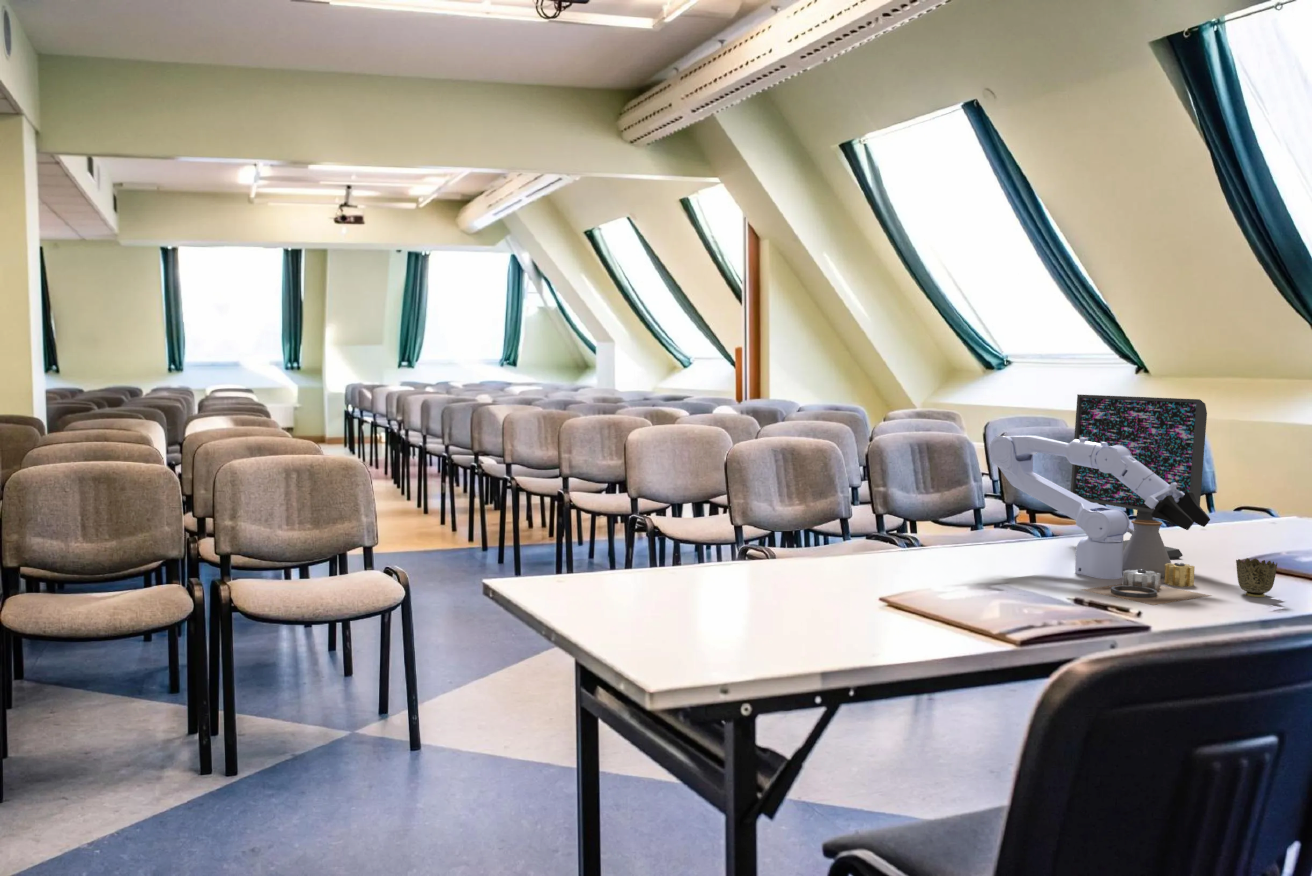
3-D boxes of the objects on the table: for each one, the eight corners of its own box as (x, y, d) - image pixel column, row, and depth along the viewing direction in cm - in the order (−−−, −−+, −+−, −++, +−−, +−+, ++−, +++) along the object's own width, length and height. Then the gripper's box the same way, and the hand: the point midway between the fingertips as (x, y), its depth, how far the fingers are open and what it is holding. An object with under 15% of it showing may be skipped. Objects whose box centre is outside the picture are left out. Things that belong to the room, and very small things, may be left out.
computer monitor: (1049, 542, 306) (1054, 394, 303) (1099, 540, 311) (1104, 394, 308) (1167, 570, 264) (1173, 399, 262) (1223, 567, 269) (1230, 399, 267)
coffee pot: (1183, 580, 252) (1186, 513, 251) (1152, 585, 246) (1155, 516, 245) (1100, 565, 270) (1102, 503, 269) (1069, 569, 264) (1071, 505, 263)
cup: (1253, 604, 227) (1255, 564, 226) (1226, 597, 234) (1227, 558, 233) (1284, 602, 229) (1286, 563, 228) (1255, 595, 236) (1257, 557, 235)
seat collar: (1102, 591, 233) (1102, 587, 233) (1128, 587, 237) (1128, 584, 237) (1139, 599, 225) (1139, 595, 225) (1165, 595, 230) (1166, 591, 230)
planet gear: (1158, 587, 243) (1159, 562, 243) (1174, 585, 246) (1175, 560, 246) (1182, 592, 239) (1183, 566, 238) (1199, 589, 242) (1200, 564, 241)
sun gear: (1115, 585, 240) (1116, 568, 240) (1136, 582, 244) (1137, 565, 244) (1145, 591, 234) (1146, 573, 234) (1167, 587, 238) (1167, 570, 238)
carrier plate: (1079, 594, 235) (1079, 589, 235) (1137, 586, 245) (1137, 581, 245) (1153, 609, 220) (1153, 604, 220) (1211, 600, 230) (1211, 595, 230)
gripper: (1140, 471, 237) (1194, 512, 229) (1172, 467, 246) (1225, 506, 238) (1121, 497, 240) (1174, 539, 232) (1154, 493, 249) (1205, 532, 241)
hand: (1198, 524), depth 235 cm, fingers open, 7 cm apart
